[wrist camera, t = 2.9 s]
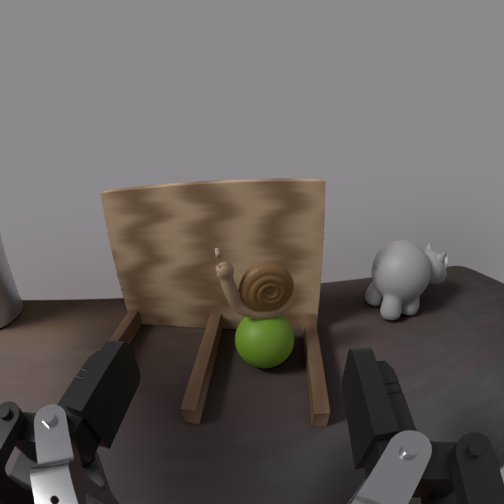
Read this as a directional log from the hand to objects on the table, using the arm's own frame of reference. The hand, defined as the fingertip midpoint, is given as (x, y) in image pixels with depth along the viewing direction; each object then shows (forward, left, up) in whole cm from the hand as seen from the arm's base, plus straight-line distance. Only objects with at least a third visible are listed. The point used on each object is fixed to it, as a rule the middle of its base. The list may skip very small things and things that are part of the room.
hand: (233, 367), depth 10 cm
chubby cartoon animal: (+19, +22, -13) cm, 32 cm away
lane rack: (-5, +12, -13) cm, 18 cm away
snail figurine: (0, +13, -13) cm, 19 cm away
